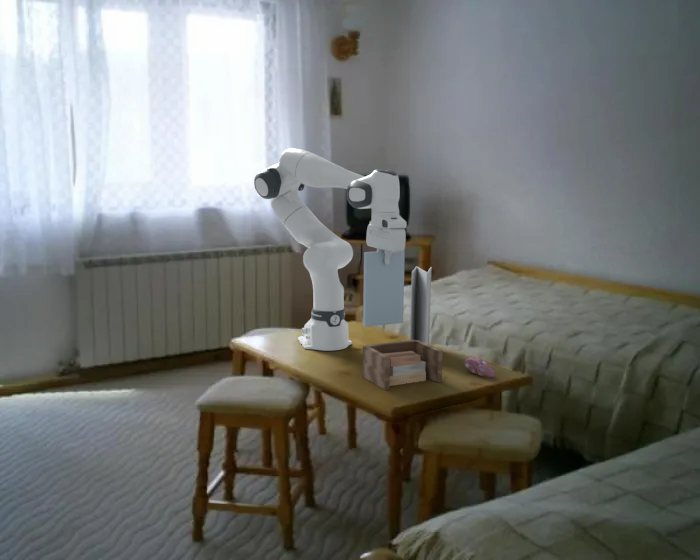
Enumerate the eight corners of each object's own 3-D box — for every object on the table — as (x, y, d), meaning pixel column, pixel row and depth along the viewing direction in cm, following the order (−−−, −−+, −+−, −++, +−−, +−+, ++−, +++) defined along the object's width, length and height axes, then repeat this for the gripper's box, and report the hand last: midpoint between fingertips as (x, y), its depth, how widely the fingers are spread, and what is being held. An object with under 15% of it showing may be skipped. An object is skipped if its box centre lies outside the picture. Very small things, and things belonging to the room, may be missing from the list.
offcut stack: (378, 380, 229) (379, 353, 228) (415, 375, 235) (415, 349, 233) (389, 386, 223) (390, 359, 221) (426, 381, 228) (427, 355, 227)
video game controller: (466, 376, 239) (459, 359, 236) (475, 368, 241) (469, 351, 238) (488, 383, 231) (482, 366, 228) (497, 375, 233) (491, 358, 230)
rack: (362, 376, 232) (362, 345, 231) (416, 369, 241) (417, 339, 239) (384, 390, 219) (385, 357, 217) (441, 382, 227) (442, 350, 226)
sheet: (362, 325, 237) (364, 252, 232) (400, 321, 242) (402, 250, 238) (365, 326, 235) (366, 252, 231) (403, 322, 241) (404, 250, 237)
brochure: (425, 357, 255) (427, 272, 250) (409, 356, 256) (411, 272, 251) (429, 347, 268) (431, 266, 263) (414, 346, 269) (416, 266, 264)
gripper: (361, 218, 241) (361, 259, 243) (391, 223, 223) (390, 268, 225) (378, 217, 244) (378, 258, 246) (409, 223, 225) (408, 267, 228)
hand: (384, 263), depth 235 cm, fingers closed on sheet, 2 cm apart
